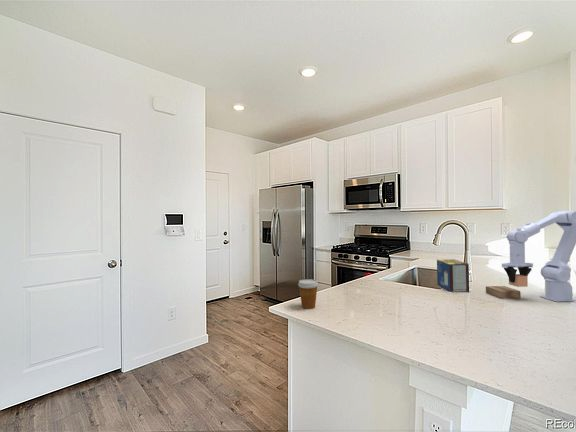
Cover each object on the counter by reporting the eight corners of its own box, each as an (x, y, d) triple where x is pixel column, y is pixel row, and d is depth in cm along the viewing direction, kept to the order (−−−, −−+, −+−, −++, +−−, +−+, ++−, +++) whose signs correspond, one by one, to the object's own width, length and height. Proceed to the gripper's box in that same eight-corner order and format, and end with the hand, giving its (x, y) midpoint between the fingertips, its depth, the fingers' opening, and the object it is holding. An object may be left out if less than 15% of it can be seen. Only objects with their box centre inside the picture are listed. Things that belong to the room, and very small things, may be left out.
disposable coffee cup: (295, 308, 125) (294, 282, 125) (303, 302, 134) (303, 278, 134) (314, 311, 121) (313, 284, 121) (321, 305, 129) (321, 280, 129)
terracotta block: (518, 283, 136) (518, 274, 136) (527, 286, 131) (527, 276, 131) (508, 284, 136) (508, 274, 136) (517, 286, 131) (517, 276, 131)
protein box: (455, 285, 162) (454, 259, 162) (469, 292, 147) (469, 263, 147) (436, 284, 163) (436, 259, 163) (449, 292, 148) (449, 263, 148)
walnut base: (504, 293, 144) (504, 285, 144) (520, 299, 134) (520, 291, 134) (485, 293, 145) (485, 286, 145) (500, 299, 135) (500, 291, 135)
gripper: (510, 256, 129) (510, 284, 129) (539, 255, 130) (539, 283, 130) (498, 254, 136) (498, 280, 136) (525, 253, 137) (525, 280, 137)
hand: (517, 282), depth 133 cm, fingers closed on terracotta block, 5 cm apart
